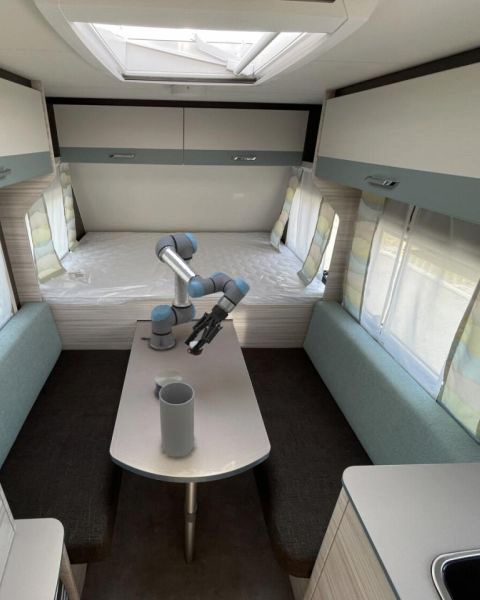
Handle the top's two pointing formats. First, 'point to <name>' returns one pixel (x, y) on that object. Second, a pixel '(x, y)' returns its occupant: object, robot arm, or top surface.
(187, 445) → the cylinder vase
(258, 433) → the top surface
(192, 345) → the cocoa
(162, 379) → the beige and blue cylinder
